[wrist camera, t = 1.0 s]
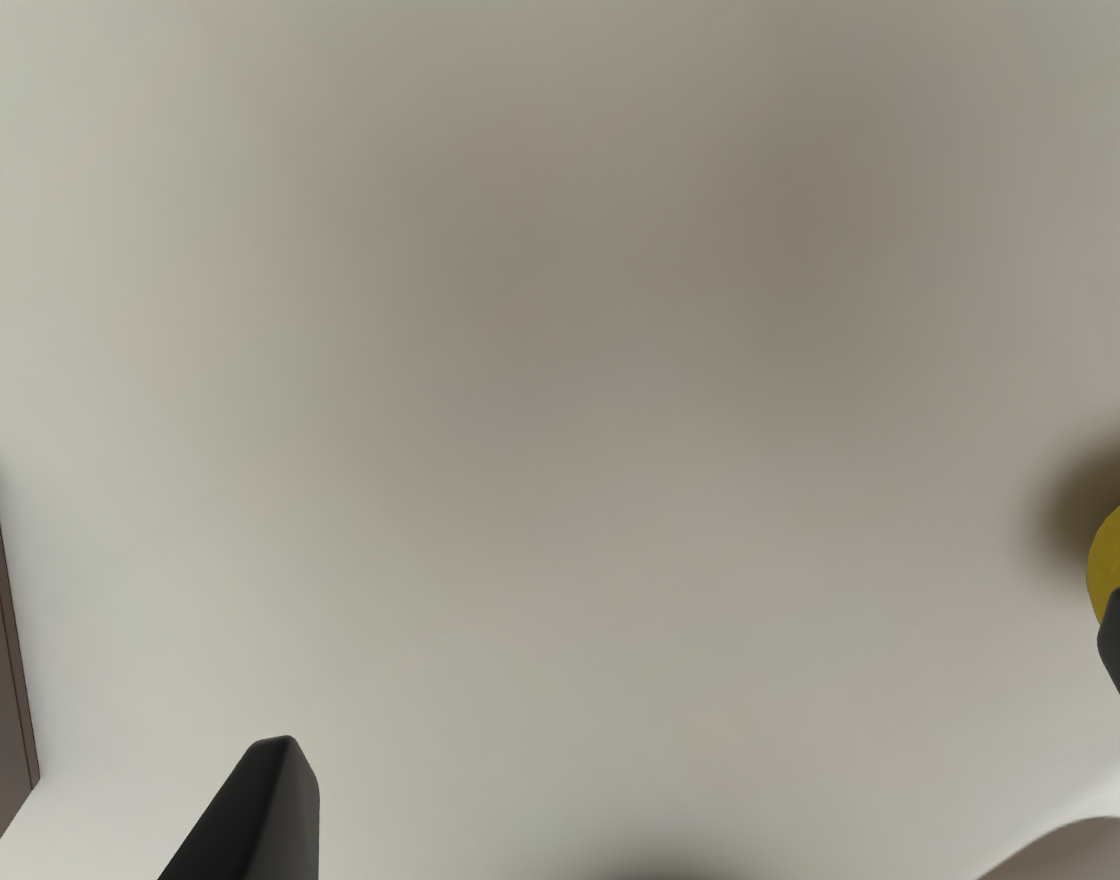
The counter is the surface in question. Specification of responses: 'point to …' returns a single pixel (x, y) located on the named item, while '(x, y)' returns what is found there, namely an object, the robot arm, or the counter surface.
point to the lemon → (1104, 563)
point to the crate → (13, 716)
